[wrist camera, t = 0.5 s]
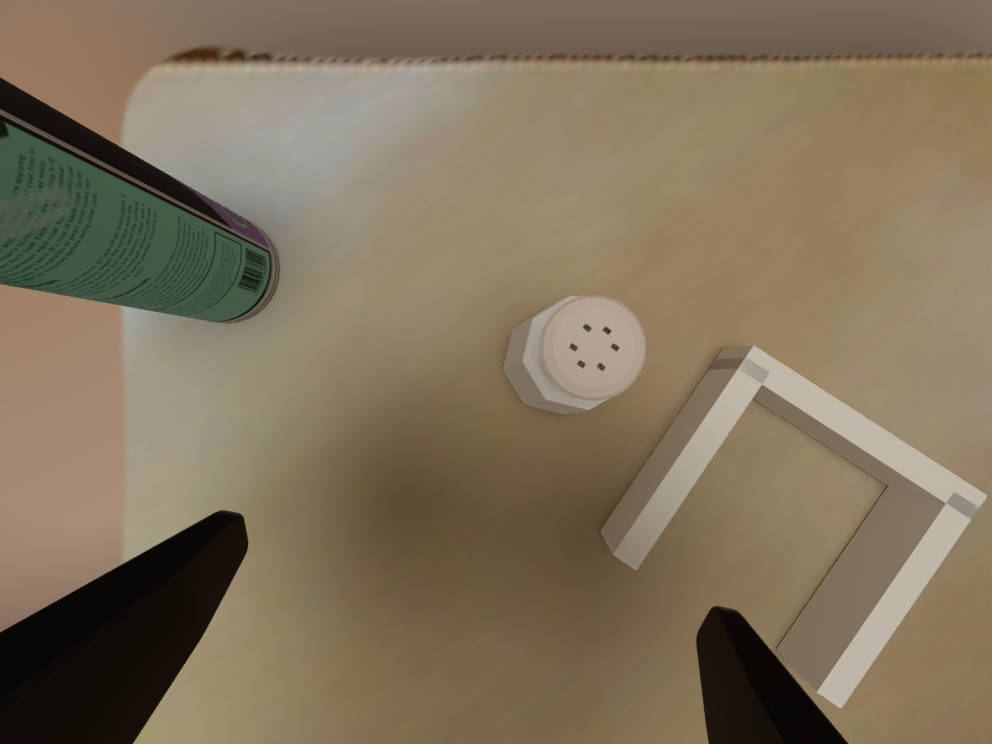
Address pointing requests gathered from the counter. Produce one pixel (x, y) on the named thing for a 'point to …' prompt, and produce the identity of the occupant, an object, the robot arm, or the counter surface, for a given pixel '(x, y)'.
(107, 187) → the spray can
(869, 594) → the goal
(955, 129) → the counter surface
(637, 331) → the pepper shaker
